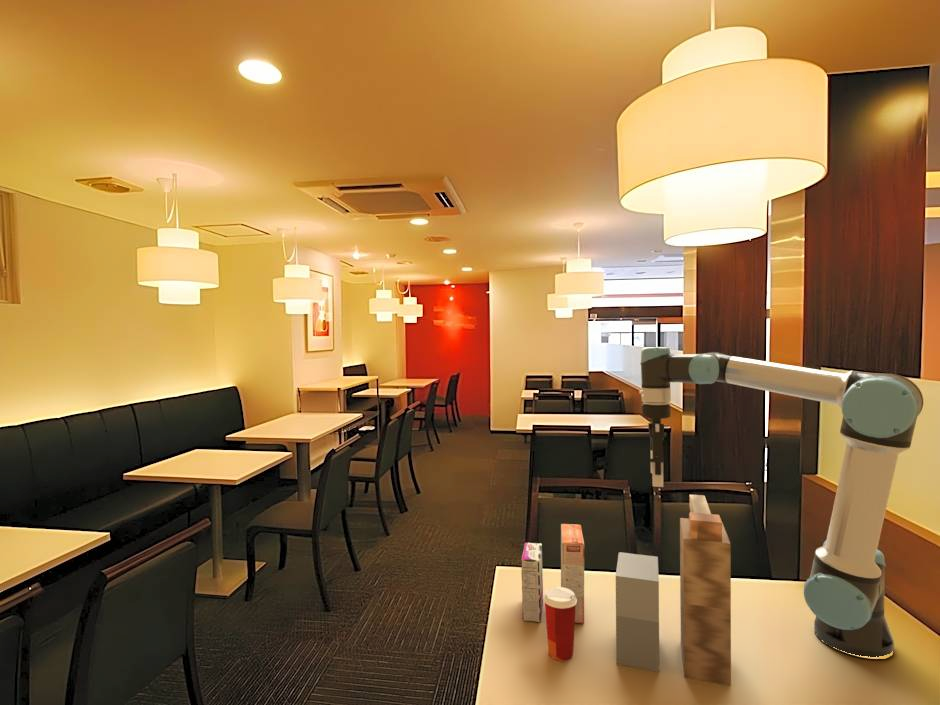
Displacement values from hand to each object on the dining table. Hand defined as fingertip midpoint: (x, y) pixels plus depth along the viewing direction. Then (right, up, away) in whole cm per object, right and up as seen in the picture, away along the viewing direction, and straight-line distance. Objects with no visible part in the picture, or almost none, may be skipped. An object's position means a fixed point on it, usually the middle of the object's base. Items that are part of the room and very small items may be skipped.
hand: (656, 479), depth 140 cm
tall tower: (+1, -34, -27) cm, 43 cm away
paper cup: (-31, -35, -23) cm, 52 cm away
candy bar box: (-35, -34, -4) cm, 49 cm away
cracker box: (-24, -34, -4) cm, 42 cm away
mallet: (+2, -4, -23) cm, 23 cm away
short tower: (-13, -34, -22) cm, 43 cm away
